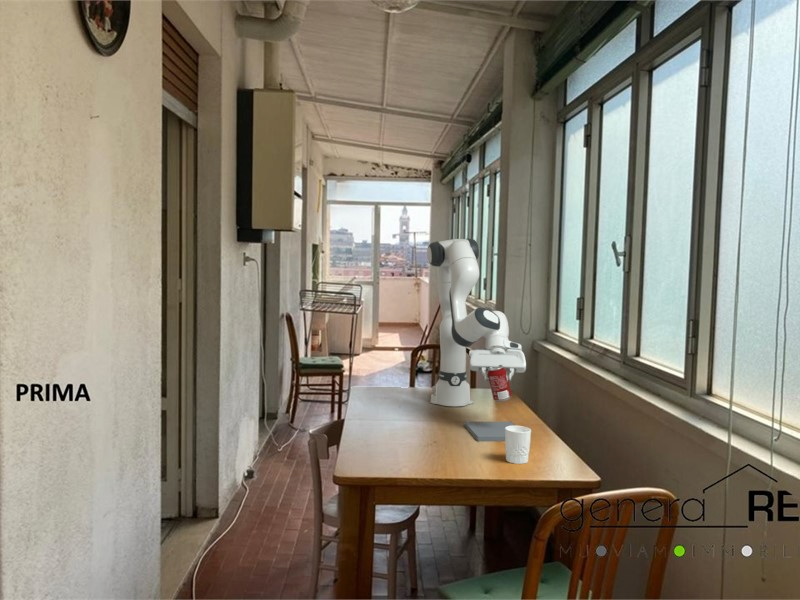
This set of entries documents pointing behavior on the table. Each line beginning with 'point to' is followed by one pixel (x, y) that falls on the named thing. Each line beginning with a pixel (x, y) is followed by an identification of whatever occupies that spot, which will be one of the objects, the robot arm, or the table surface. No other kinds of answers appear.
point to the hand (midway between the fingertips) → (497, 380)
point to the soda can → (499, 383)
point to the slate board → (488, 430)
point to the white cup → (517, 444)
